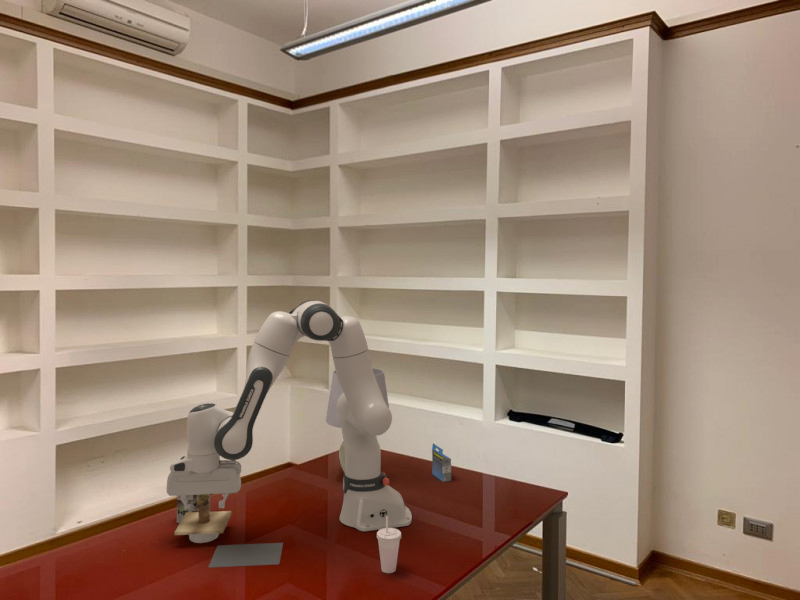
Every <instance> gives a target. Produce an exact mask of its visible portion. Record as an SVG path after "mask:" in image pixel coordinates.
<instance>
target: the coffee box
mask: <svg viewBox="0 0 800 600" xmlns="http://www.w3.org/2000/svg"><path fill="white" fill-rule="evenodd" d="M186 499H187V500H188V502H191V509H190V510H185V507H184V504H183V502H182V501H181V499H180V496H176V523H178V524H180V522H181V521H182V519H183V517H184V516H185V514H186V513H188V512H198V508H199V507H200V506H204V505H207V506H209V507H210V508H211V494H202V495H187V496H186Z"/></svg>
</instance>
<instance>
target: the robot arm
mask: <svg viewBox="0 0 800 600" xmlns="http://www.w3.org/2000/svg"><path fill="white" fill-rule="evenodd" d="M303 337H307V338H309V339H311V340H313V341H319V342H325V341H327V342H328V344H329V346H330V351H331V355H332V356H331V357H332V360H333V361H332V362H333V365H334V370H336V375H337V379H338V382H339V384H340V385H341V387H342V389H343V392H344V393H343V394H342V395H341V396H340V397H339V399H338V401H337V412H338V414H339V417H340V422H341V428H340V429H341V435H342V439H343V441H344V447H345V473H344V472H343V477H342V490H343V501H342V507H341V512H340V515H339V521H340V522H341V524H343V525H346V526H347V527H351V528H355V529H357V530H358V531H360V532H369V531H377V530H378V531H379V530H380V529H383V528H386V516H388V528H399V527H406V526H409V525H410V524H411V523H412V521H413V514H412V512H411V510H410V508H409V507H407V506H406V505H405V502H404V499H403V497H402V495H401V493H400V492H399V491H397V490H396V489H395V488H393V487H391V486H390V479H389V478H388V476H387V474H386V473H385V472H384V471H383V472H382V471H381V466H382V465H381V457H382V455H381V454H382V453H381V452H382V451H381V446H380V443H379V441H378V438H377V436H381V435H383V434H385V433H386V432H387V431H388V430H389V429H390V427H391V425H392V422H393V421H392V420H393V414H392V412H391V409H390V407H389V408H388V407H387V405H386V403H385V401H384V398H383V396H382V393H381V391H380V388H379V386H378V383H377V381H376V379H375V376H374V373H373V369H372V368H373V366H372V361H371V356H370V351H369V347H368V346H369V345H368V342H367V339H366V336H365V333H364V330H363V327H362V325H361V323H360V321H359V320H358V318H356V317H354V316H348V315H344V316H343V315H342V316H339V314H338V313H337V312H336V311H335V310H334V309H333V308H332V307H331V306H330V305H328V304H327V303H324V302H323V301H320V300H314V299H309V300H305V301H303V302H300V304H298V305H297V306H295V308H293V309H292V310H291V311H289V312H287V311H286V312H285V311H280V310H278V311H273V312H272V313H270V314H269V315H268V316H267V318H266V319H265V320H264V322H263V324H262V325H261V328H260V329H259V331H258V333H257V335H256V336H255V338H254V339H253V340H254V341H253V343H252V345H251V347H250V351H249V354H248V358H247V362H246V373H245V374H246V375H245V382H244V386H243V389H242V393H241V395H240V397H239V400H238V402H237V404H236V407H235V409H234V411H231V410H230V411H229V410H226V409H223V408H221V407H220V406H218V405H217V404H215V403H212V402H211V403H209V402H208V403H203V404H199V405H197V406H195V407H193V408H192V409H191V410H190V411H189V413H188V415H187V417H186V418H187V419H186V439H187V442H188V443H187V444H188V446H187V451H186V452H187V453H186V454H184V455H182V456H178V457H176V458H175V459H174V460H173V461H172V462H171V463H170V466H169V471H170V473H169V474H168V475H167V478H166V479H167V480H166V494H167V495H168V496H170V497H173V496H174V497H177V496H180V499H181V501H182V502H183V504H184V507H185V510H190V509H191V502H188V500H187V499H186V496H187V495H202V494H210V495H220V494H221V495H222V497H223V499H221V500H219V502H218V509H224V508H225V506H226V501H227V498H228V496H229V494H237V493H238V492H239V491H240V490H241V487H242V480H241V479H242V478H241V473H242V465H241V463H240V462H239V461H237V460H241V459H242V458H244V457H245V456H247V455H248V454H249V453H250V452H251V449H252V447H253V441H254V437H253V435H254V434H253V431H254V426H255V423H256V420H257V417H258V416H259V414H260V411H261V409H262V406H263V404H264V401H265V399H266V396H267V394H268V393H269V391H270V389H271V388H272V386H273V385H274V383H275V382H276V380H277V379H278V377H279V376H280V375H281V372H283V369H284V367H285V366H286V364H287V362H288V360H289V358H290V356H291V353H292V351H293V348H294V346H295V345H296V344H297V342H298V341H299V340H300V339H302V338H303ZM221 458H222V460H221Z"/></svg>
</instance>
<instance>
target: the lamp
mask: <svg viewBox="0 0 800 600" xmlns="http://www.w3.org/2000/svg"><path fill="white" fill-rule="evenodd" d="M372 369H373V373H374V376H375V379H376V381H377V383H378V386H379V388H380V391H381V393H382V396H383V398H384V401H385V403H386V405H387V407H388V408H389V409H390V405H389V400H388V399H389V398H388V392H387V385H386V378H385V371H384V370H383V369H380V368H375V367H372ZM343 393H344V392H343V389H342V387H341V385H340V384H339V382H338V379H337V375H336V370H335V369H334V370H333V371H332V377H331V384H330V391H329V397H328V405H327V411H326V418H325V422H326V424H328V425H330V426H332V427H335V428H340V429H341V422H340V417H339V414H338V412H337V401H338V399H339V397H340V396H341V395H342V394H343ZM338 458H339V462H340V466H341V469H342V471H343V474H344V473H345V447H344V440H343V441H342V443H341V445H340V446H339V449H338Z"/></svg>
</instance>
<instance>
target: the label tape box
mask: <svg viewBox="0 0 800 600" xmlns="http://www.w3.org/2000/svg"><path fill="white" fill-rule="evenodd" d="M431 452H432V456H431V460H432V463H431V467H432V471H431V472H432V475H433V476H434V477H435V478H437V479H438V480H439V481H441V482H442V483H445V482H451V481H452V459H451V457H449V456H447V455H446V454H444V453H443V452H444V449H443V448H441V447H440V446H438V445H437V444H435V443H434V442H433V443H432V447H431Z"/></svg>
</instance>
